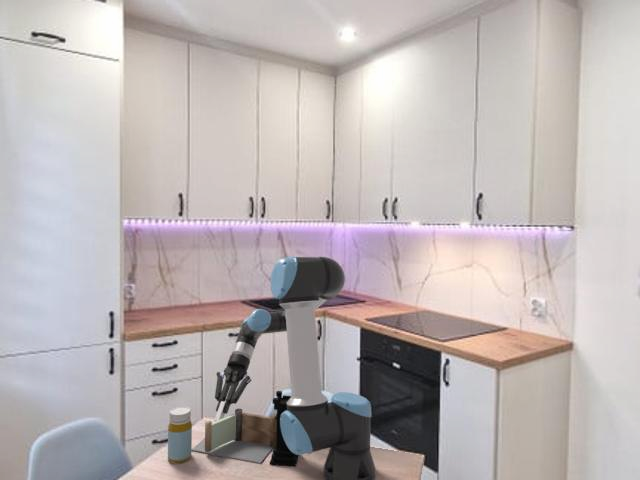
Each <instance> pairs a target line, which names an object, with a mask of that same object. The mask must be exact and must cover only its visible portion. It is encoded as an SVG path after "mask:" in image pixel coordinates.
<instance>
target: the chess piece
mask: <svg viewBox="0 0 640 480" xmlns="http://www.w3.org/2000/svg"><path fill="white" fill-rule="evenodd" d="M275 396H276V397H273V398H272V404H273V410H276V413H275V414H276V416H275V419H276V420H277V433H276V445H275V447H274V448H273V449H272V455H271V459H270V461H269V466H280V467H292V468H293V467H295V468H297V463H298V460H299V456H300V455H296V454H294V453H292V452H291V451H290V450H289V448H288V447H287V445H286V443H285V441H284V438H283V436H282V432H281V427H280V418H281V414H282V413H283V412H284V411H287V401H288V400H289V399H290V398H291V396H292V395H283V391H282V390H277V391H276V393H275Z"/></svg>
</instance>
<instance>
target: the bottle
mask: <svg viewBox="0 0 640 480" xmlns="http://www.w3.org/2000/svg"><path fill="white" fill-rule="evenodd" d="M191 412H192V410H191V408H190V407H188V406H177V407H174V408H171V409H170V411H169V422H168V423H169V424H168V426H167V460H168V462H170V463H172V464H176V465H177V464H183V463H186V462H187V461H189V459H191V457H192V451H191V450H192V449H193V448H192V447H193V446H192V443H193V442H192V441H193V440H192V439H193V436H192V434H193V433H192V432H193V428H192V427H193V425H192V421H191V416H192V413H191Z"/></svg>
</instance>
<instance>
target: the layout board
mask: <svg viewBox="0 0 640 480" xmlns="http://www.w3.org/2000/svg"><path fill="white" fill-rule="evenodd" d="M273 450H274V447H270V446H269V445H263V444H257V443H251V442H246V441H242V440H240V441H235V439H234V440H232V441H230V442H228V443H225V444H223V445H221V446H219V447H217V448H215V449H213V450H211V451H210V452H205V437H204V438H203V439H202V440H201V441H200V442H198V443H197V444H196V445H195V446H194V447H193V448H192V449H191V452H194V453H195V452H196V453H199V454H200V453H201V454H207V455H211V456H217V457H222V458H228V459H232V460H233V459H234V460H239V461H244V462H250V463H253V464H260V465H261V464H262V463H263V462H264V460H265V459H266V458H267V457H268V456H269V454H270V453H271V452H272V451H273Z"/></svg>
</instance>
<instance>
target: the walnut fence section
mask: <svg viewBox="0 0 640 480" xmlns="http://www.w3.org/2000/svg"><path fill="white" fill-rule="evenodd" d="M234 414H235V415H236V439H235V441H240V440H242V441H246V442H251V443H257V444H263V445H269V446H270V447H275V445H276V433H277V420H276V419H275V416H276V414H277V413H271V414H270V415H269V416H266V415H261V414H260V415H258V414H254V413H246V412H243V409H242V408H235V410H234Z"/></svg>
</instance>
